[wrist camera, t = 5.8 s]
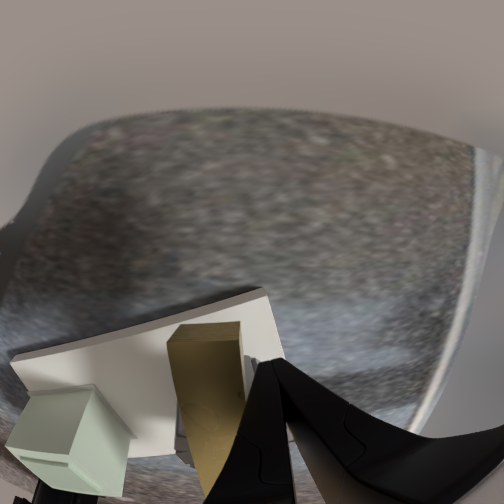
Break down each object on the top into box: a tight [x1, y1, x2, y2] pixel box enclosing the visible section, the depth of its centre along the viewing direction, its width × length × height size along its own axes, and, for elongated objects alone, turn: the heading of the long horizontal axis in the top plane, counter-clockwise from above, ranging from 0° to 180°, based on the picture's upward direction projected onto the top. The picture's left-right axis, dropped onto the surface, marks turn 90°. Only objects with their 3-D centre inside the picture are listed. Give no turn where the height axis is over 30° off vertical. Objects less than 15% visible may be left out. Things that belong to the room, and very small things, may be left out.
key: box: [166, 321, 248, 498], centre depth 11 cm, size 12×2×6 cm, turn 2°
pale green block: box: [5, 390, 131, 497], centre depth 10 cm, size 6×4×5 cm
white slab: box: [10, 287, 296, 469], centre depth 12 cm, size 17×10×5 cm, turn 106°
